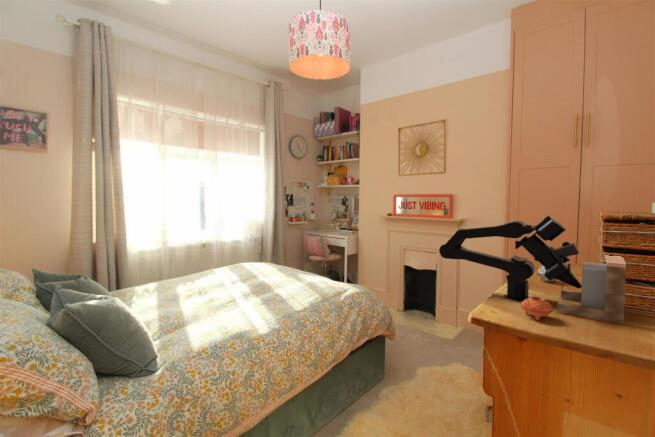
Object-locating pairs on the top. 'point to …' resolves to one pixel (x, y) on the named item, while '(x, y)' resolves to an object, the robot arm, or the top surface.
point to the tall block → (593, 285)
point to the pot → (537, 307)
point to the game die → (543, 274)
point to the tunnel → (612, 295)
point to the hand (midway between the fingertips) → (580, 287)
